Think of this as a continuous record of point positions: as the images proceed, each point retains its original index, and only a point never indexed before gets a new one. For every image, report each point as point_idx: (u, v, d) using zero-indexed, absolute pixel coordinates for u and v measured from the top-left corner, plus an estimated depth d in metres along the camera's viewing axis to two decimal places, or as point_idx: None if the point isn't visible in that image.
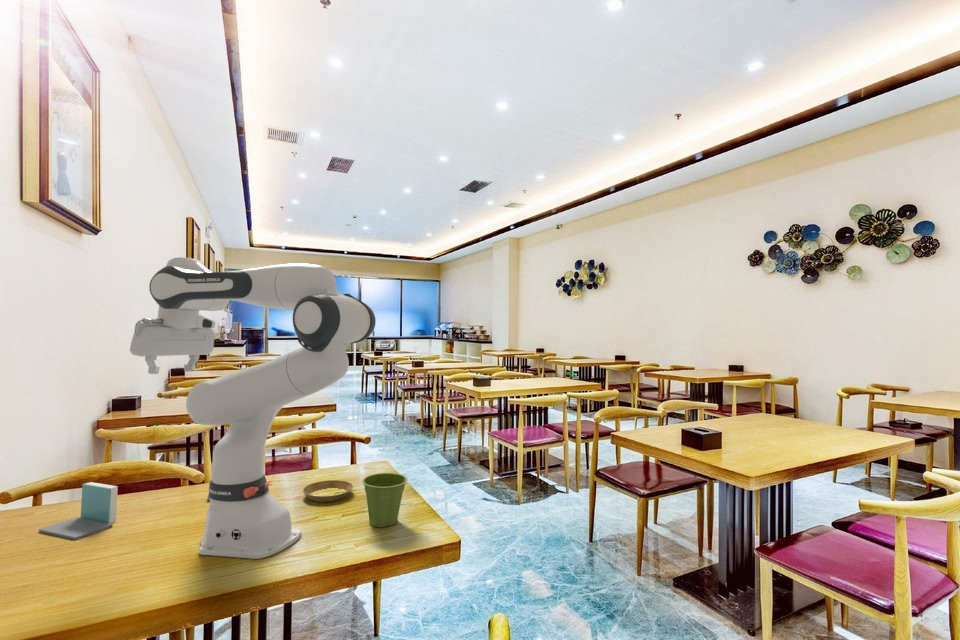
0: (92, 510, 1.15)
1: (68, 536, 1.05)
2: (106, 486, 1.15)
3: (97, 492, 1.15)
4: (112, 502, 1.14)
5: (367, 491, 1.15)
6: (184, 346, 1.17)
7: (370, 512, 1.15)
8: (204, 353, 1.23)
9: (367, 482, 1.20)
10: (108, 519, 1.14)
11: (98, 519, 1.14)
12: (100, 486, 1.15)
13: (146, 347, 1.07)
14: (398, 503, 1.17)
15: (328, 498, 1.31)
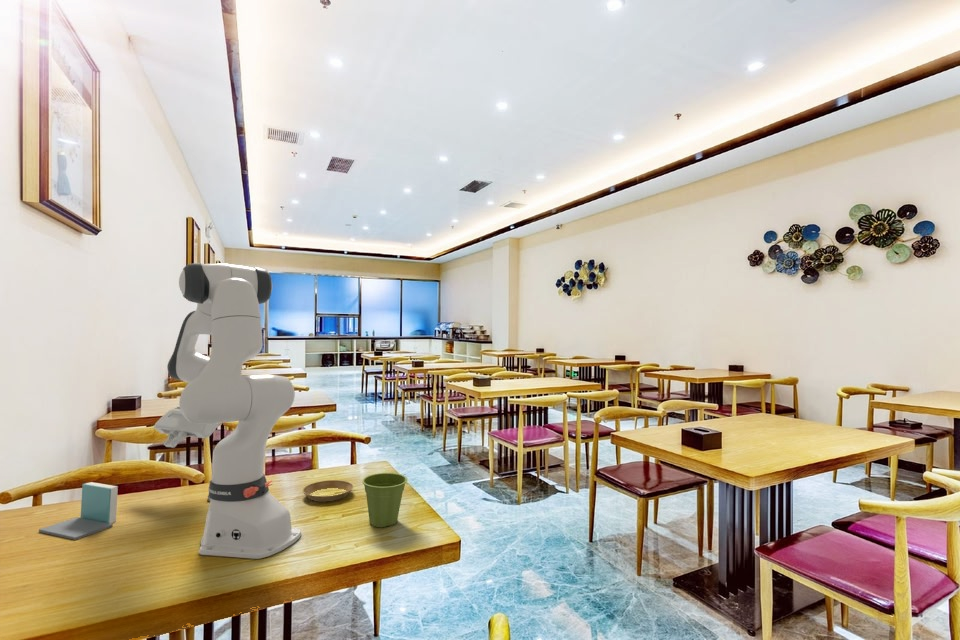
0: (92, 510, 1.15)
1: (68, 536, 1.05)
2: (106, 486, 1.15)
3: (97, 492, 1.15)
4: (112, 502, 1.14)
5: (367, 491, 1.15)
6: (184, 423, 1.37)
7: (370, 512, 1.15)
8: (195, 430, 1.34)
9: (367, 482, 1.20)
10: (108, 519, 1.14)
11: (98, 519, 1.14)
12: (100, 486, 1.15)
13: (160, 421, 1.40)
14: (398, 503, 1.17)
15: (328, 498, 1.31)
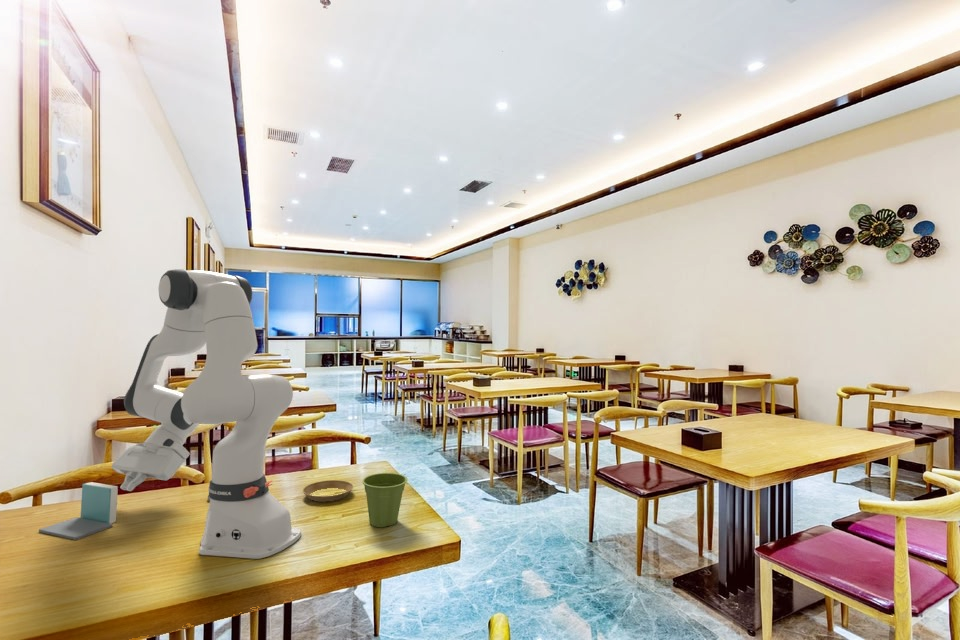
0: (92, 510, 1.15)
1: (68, 536, 1.05)
2: (106, 486, 1.15)
3: (97, 492, 1.15)
4: (112, 502, 1.14)
5: (367, 491, 1.15)
6: (143, 463, 1.26)
7: (370, 512, 1.15)
8: (154, 472, 1.22)
9: (367, 482, 1.20)
10: (108, 519, 1.14)
11: (98, 519, 1.14)
12: (100, 486, 1.15)
13: (118, 460, 1.28)
14: (398, 503, 1.17)
15: (328, 498, 1.31)
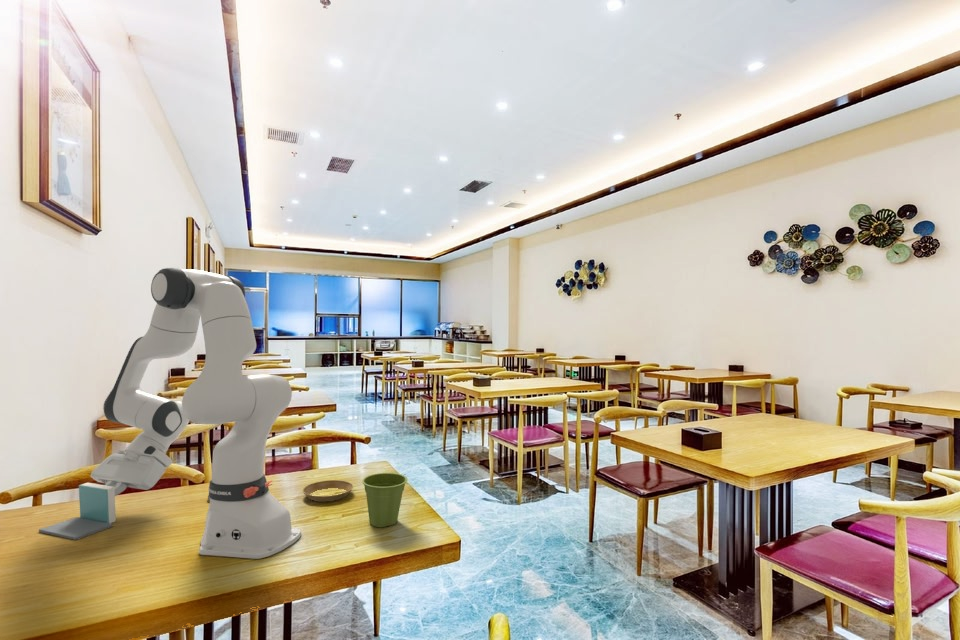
0: (91, 510, 1.15)
1: (68, 536, 1.05)
2: (102, 487, 1.15)
3: (94, 493, 1.14)
4: (110, 502, 1.14)
5: (367, 491, 1.15)
6: (123, 472, 1.20)
7: (370, 512, 1.15)
8: (134, 482, 1.17)
9: (367, 482, 1.20)
10: (108, 519, 1.13)
11: (98, 519, 1.14)
12: (96, 487, 1.15)
13: (97, 469, 1.23)
14: (398, 503, 1.17)
15: (328, 498, 1.31)
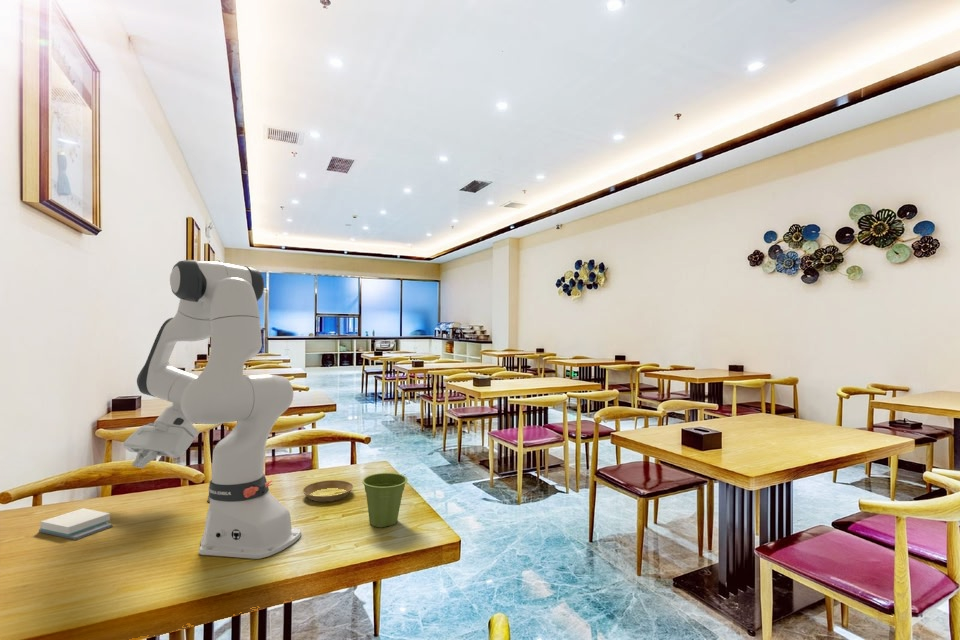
0: None
1: (68, 536, 1.05)
2: (60, 530, 1.06)
3: None
4: (86, 525, 1.09)
5: (367, 491, 1.15)
6: (154, 441, 1.28)
7: (370, 512, 1.15)
8: (165, 450, 1.25)
9: (367, 482, 1.20)
10: (104, 522, 1.13)
11: None
12: (56, 531, 1.06)
13: (129, 439, 1.31)
14: (398, 503, 1.17)
15: (328, 498, 1.31)
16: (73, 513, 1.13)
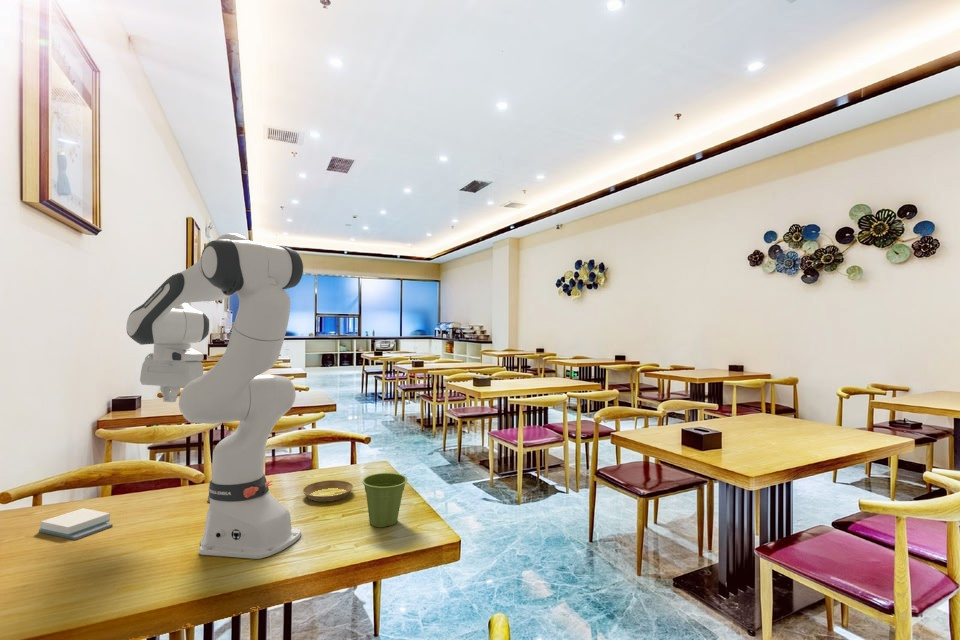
0: None
1: (68, 536, 1.05)
2: (60, 530, 1.06)
3: None
4: (86, 525, 1.09)
5: (367, 491, 1.15)
6: (168, 378, 1.27)
7: (370, 512, 1.15)
8: (184, 386, 1.25)
9: (367, 482, 1.20)
10: (104, 522, 1.13)
11: None
12: (56, 531, 1.06)
13: (143, 377, 1.30)
14: (398, 503, 1.17)
15: (328, 498, 1.31)
16: (73, 513, 1.13)
